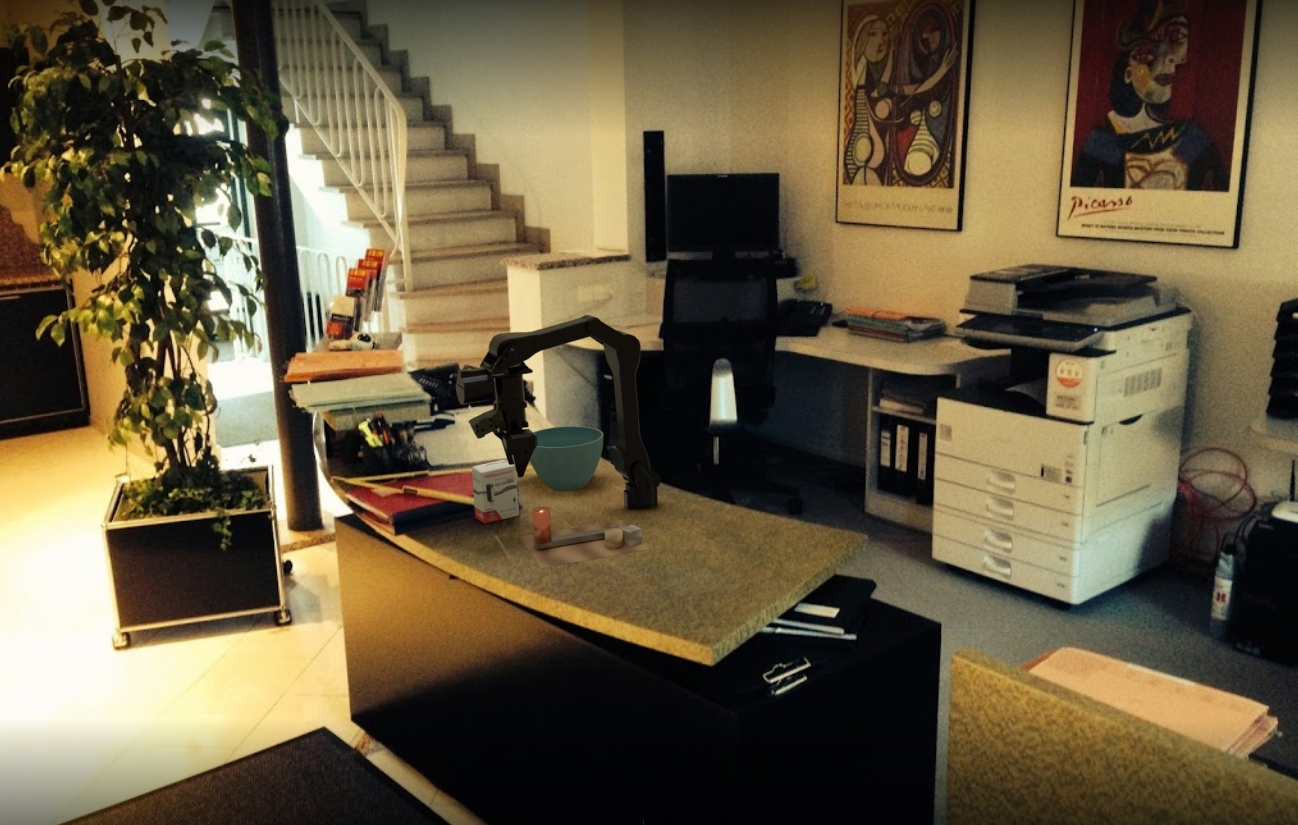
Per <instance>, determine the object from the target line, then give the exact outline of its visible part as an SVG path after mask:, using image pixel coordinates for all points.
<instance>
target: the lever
mask: <svg viewBox="0 0 1298 825" xmlns="http://www.w3.org/2000/svg"><path fill="white" fill-rule="evenodd" d="M551 519H552V518H551V509H550V507H549V506H535V507H533V508H532V509H531V521H532V523H531V524H532V534H533V537H534V546H535V547H536V549H543V548H549V547H555V546H561V545H567V544H573V543H579V542H585V541H591V540H597V539H603V538H605V531H606V530H607V529H606V528H602V529H596V530H590V531H584V532H578V533H572V534H566V535H559V536H553V537H552V532H551V531H552V520H551Z"/></svg>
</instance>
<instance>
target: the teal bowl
mask: <svg viewBox="0 0 1298 825" xmlns="http://www.w3.org/2000/svg"><path fill="white" fill-rule="evenodd" d="M532 432H533V433H534V434H535V435H536V436H537V443H538V446H536V449H534V451H533V454H532V456H531V458H530V461H529V463H530V465H531V466H532V468H533V470H534V472H535V473H536V475H537V476H538V478H539V479H540V480H541V481H542V482H543V483H544V484H545V486H547V488H549V489H550V490H551V491H554V492H563V493H565V492H574V491H579V490H581V489H583V488H584V487H585V486H586V485H587V484H588V483H589V481H590V480H591V479H592V477H593V476H594V473H595V472H596V470H597V468H598V465H599V462H600V460H601V458H602V452H603V446H604V433H603V432H602V431H601V430H600V429H597V428H593V427H589V426H582V425H580V426H579V425H569V426H568V425H567V426H565V425H564V426H554V427H548V428H547V427H546V428H544V429H540V430H535V431H532Z"/></svg>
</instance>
